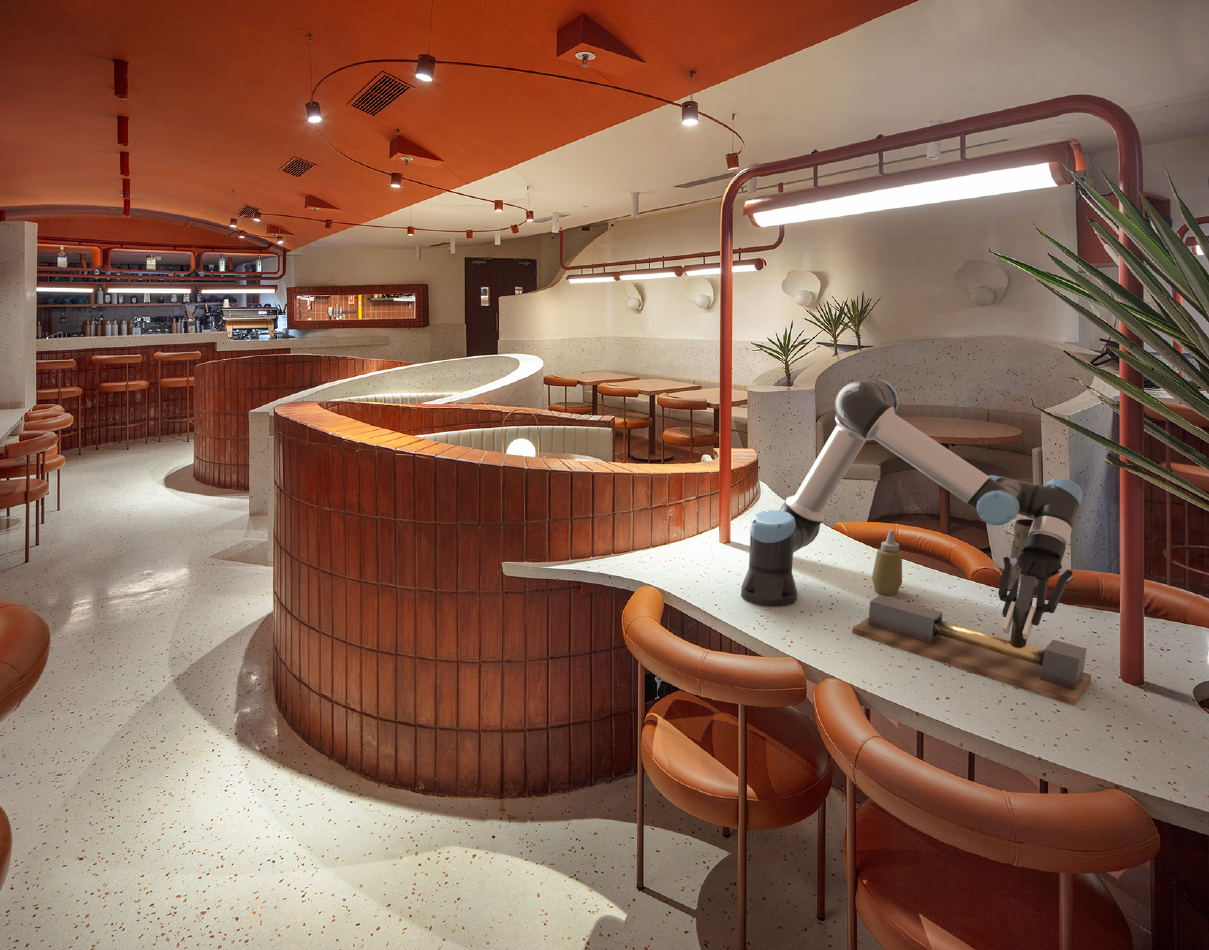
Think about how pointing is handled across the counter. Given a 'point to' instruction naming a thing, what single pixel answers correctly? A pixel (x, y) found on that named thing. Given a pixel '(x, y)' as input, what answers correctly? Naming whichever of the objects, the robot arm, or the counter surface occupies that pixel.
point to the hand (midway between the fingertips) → (1015, 633)
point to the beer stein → (1017, 546)
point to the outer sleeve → (904, 618)
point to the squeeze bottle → (888, 567)
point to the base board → (978, 662)
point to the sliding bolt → (997, 644)
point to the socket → (1063, 664)
